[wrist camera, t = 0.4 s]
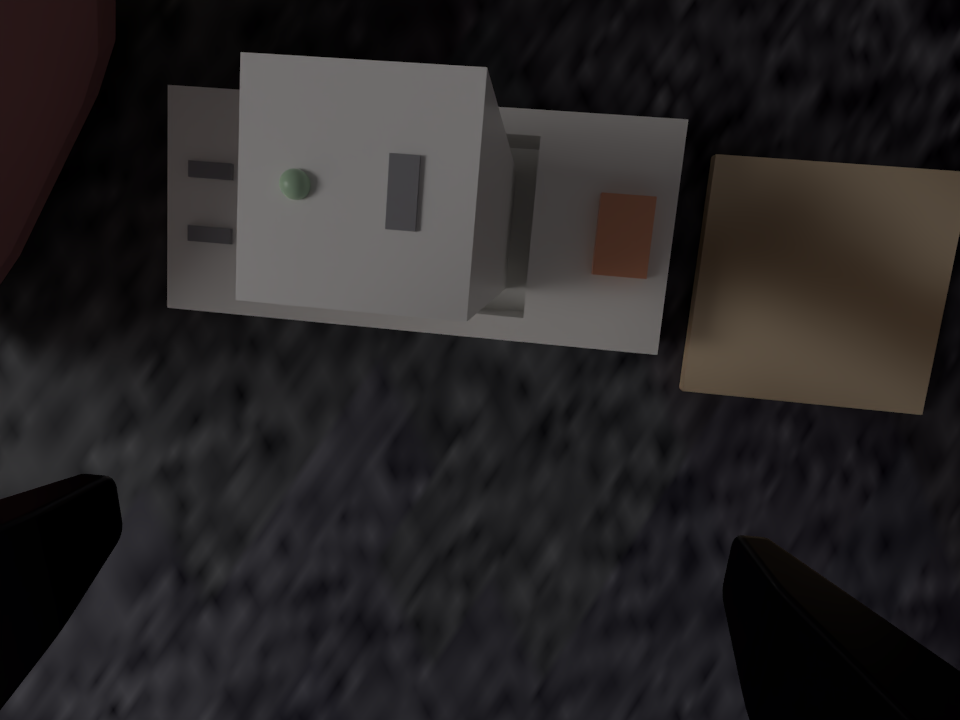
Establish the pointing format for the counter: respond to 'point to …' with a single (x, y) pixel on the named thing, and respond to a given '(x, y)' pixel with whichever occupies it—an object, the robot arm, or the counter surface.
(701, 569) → the counter surface
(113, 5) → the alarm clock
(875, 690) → the robot arm
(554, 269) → the power strip
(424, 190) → the charger
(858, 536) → the counter surface
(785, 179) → the coaster
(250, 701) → the counter surface
